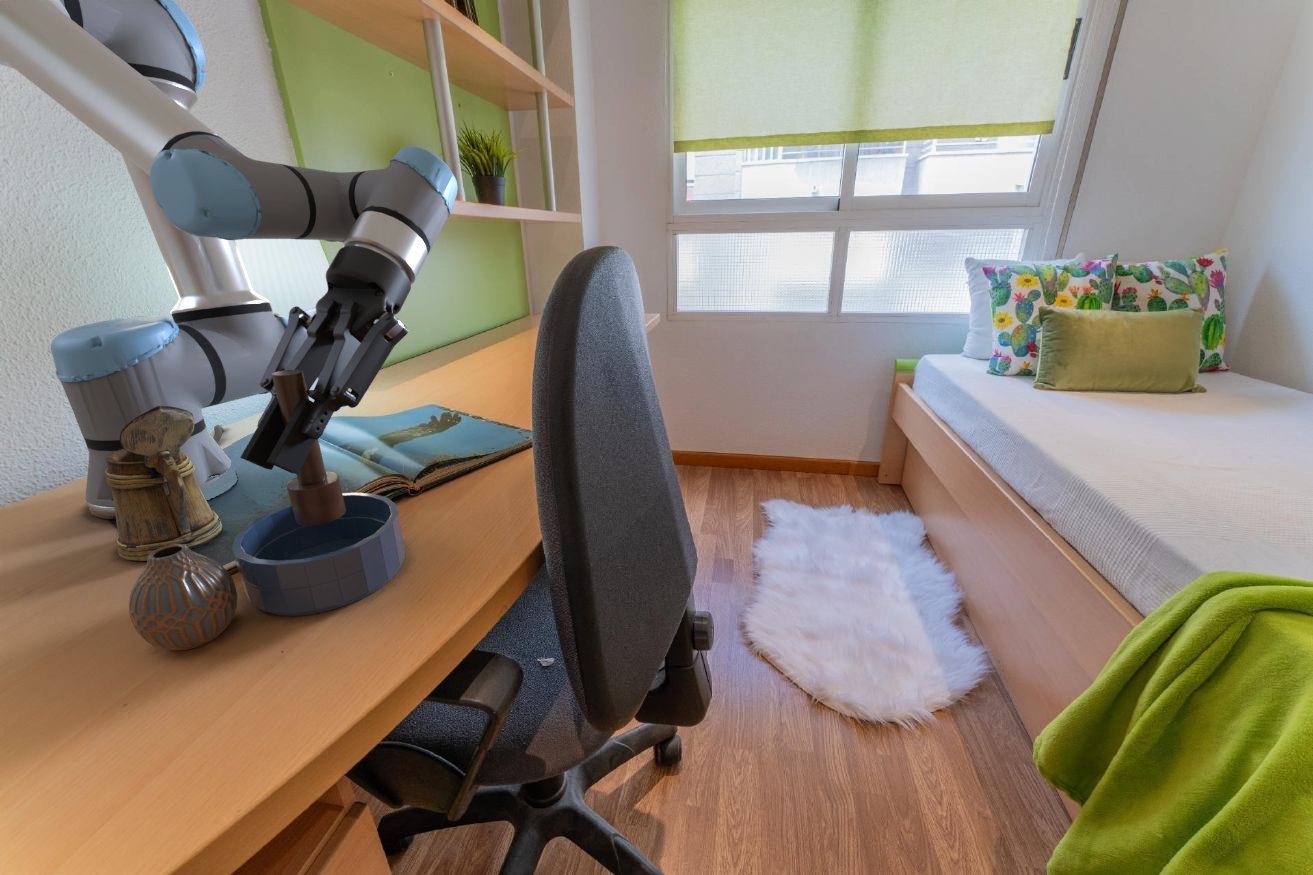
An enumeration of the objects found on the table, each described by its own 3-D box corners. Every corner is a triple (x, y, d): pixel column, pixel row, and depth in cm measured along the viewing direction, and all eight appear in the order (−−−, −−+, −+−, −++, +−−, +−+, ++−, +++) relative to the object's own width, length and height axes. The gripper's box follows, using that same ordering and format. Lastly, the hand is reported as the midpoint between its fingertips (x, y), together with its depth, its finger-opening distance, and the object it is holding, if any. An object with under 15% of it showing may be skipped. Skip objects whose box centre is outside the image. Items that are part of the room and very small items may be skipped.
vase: (263, 610, 50) (239, 530, 47) (203, 664, 43) (170, 576, 40) (193, 607, 50) (164, 528, 47) (122, 662, 43) (83, 574, 40)
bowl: (233, 573, 55) (217, 524, 53) (375, 524, 65) (367, 481, 63) (270, 641, 46) (253, 584, 44) (428, 572, 56) (421, 523, 54)
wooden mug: (158, 584, 53) (95, 418, 47) (106, 547, 59) (44, 395, 53) (255, 544, 60) (213, 395, 54) (200, 514, 67) (156, 378, 60)
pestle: (290, 515, 53) (252, 372, 48) (337, 501, 56) (307, 364, 51) (303, 531, 50) (265, 380, 45) (352, 515, 53) (321, 372, 48)
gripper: (456, 294, 58) (366, 491, 49) (345, 288, 62) (242, 470, 53) (416, 243, 51) (303, 460, 42) (294, 240, 55) (166, 438, 46)
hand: (269, 465), depth 47 cm, fingers closed on pestle, 2 cm apart
